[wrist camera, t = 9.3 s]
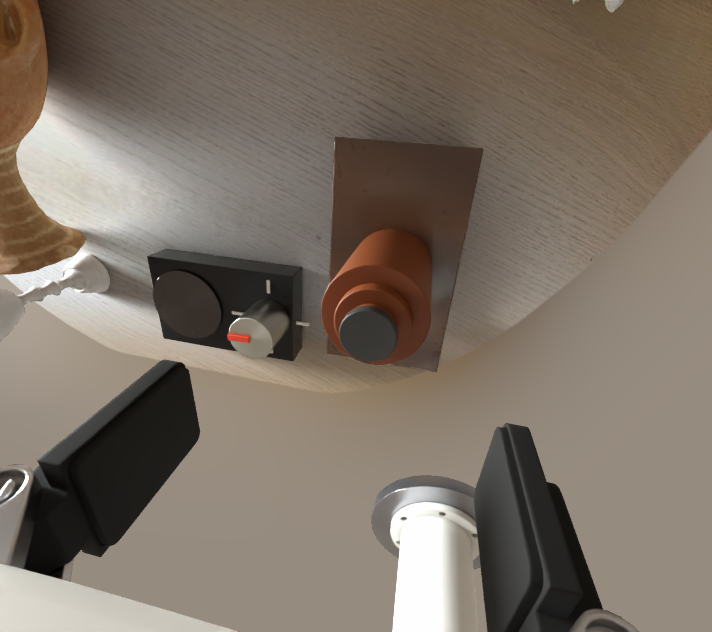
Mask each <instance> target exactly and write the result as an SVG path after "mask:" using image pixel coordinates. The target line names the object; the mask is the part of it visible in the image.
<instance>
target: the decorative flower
mask: <svg viewBox="0 0 712 632" xmlns="http://www.w3.org/2000/svg"><path fill="white" fill-rule="evenodd" d="M577 1H579V0H572V3H573V4H574V3H576V2H577ZM623 1H624V0H605V6H606V8H607V9H608V10H609V11H610V12H611V13H612V12H613V11H614V10H616V9H617V8H618V7H619V6H621V5H622V3H623Z"/></svg>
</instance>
